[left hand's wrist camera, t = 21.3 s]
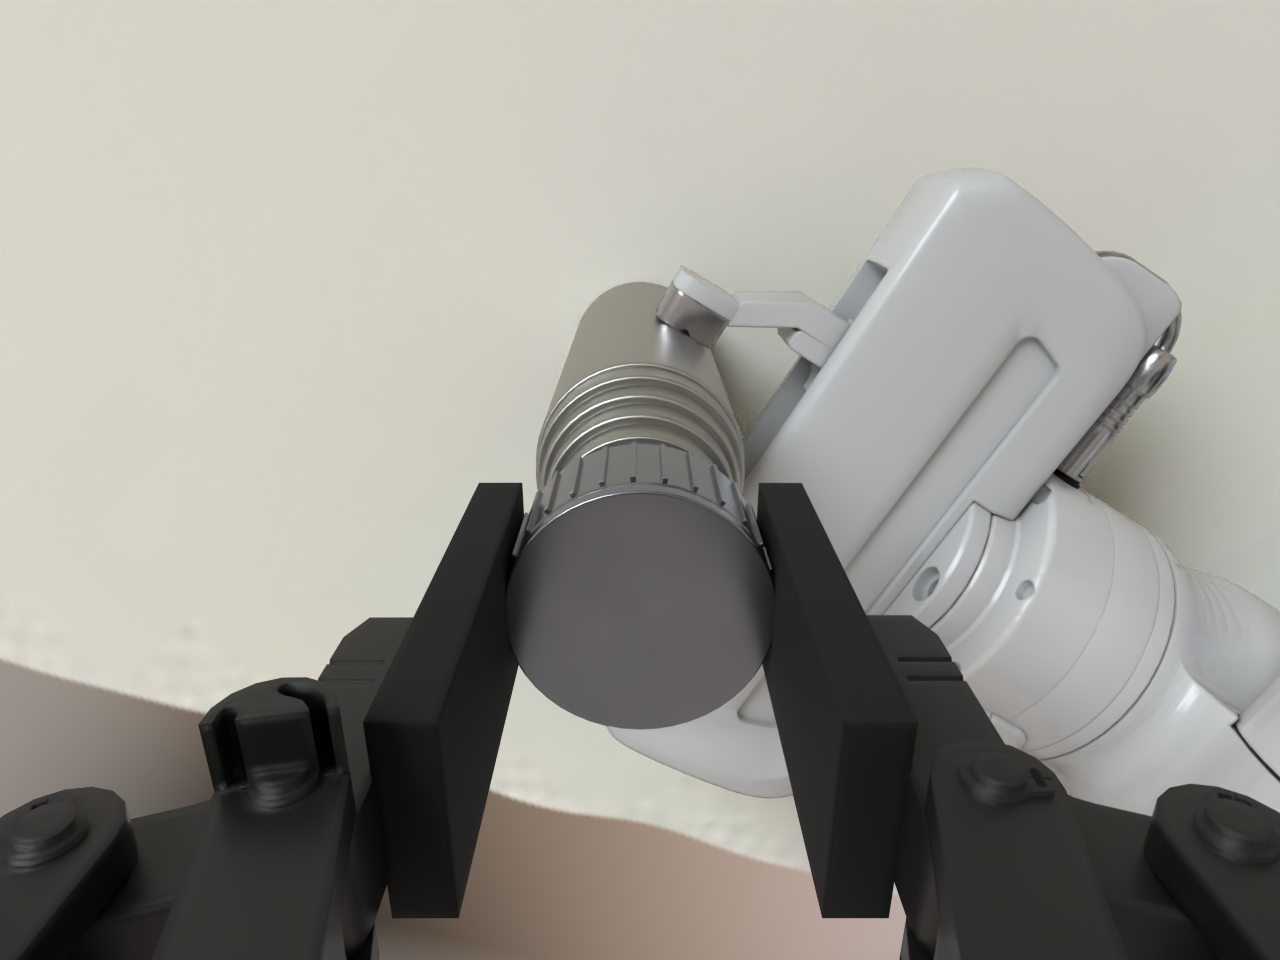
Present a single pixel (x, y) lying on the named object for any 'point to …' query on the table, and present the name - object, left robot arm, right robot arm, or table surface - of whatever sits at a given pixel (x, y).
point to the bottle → (638, 389)
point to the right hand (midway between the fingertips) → (613, 383)
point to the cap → (640, 589)
